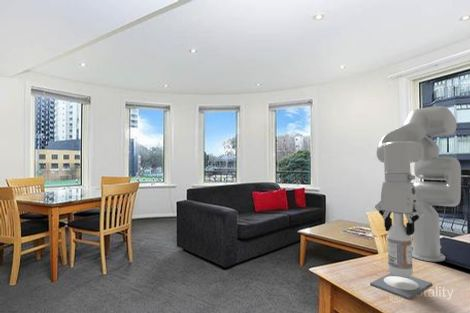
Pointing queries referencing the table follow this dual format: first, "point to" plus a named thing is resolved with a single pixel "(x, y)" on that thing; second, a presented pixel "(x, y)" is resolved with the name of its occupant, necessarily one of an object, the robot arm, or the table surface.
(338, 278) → the table surface
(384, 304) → the table surface
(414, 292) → the rubber mat
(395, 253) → the bath foam
